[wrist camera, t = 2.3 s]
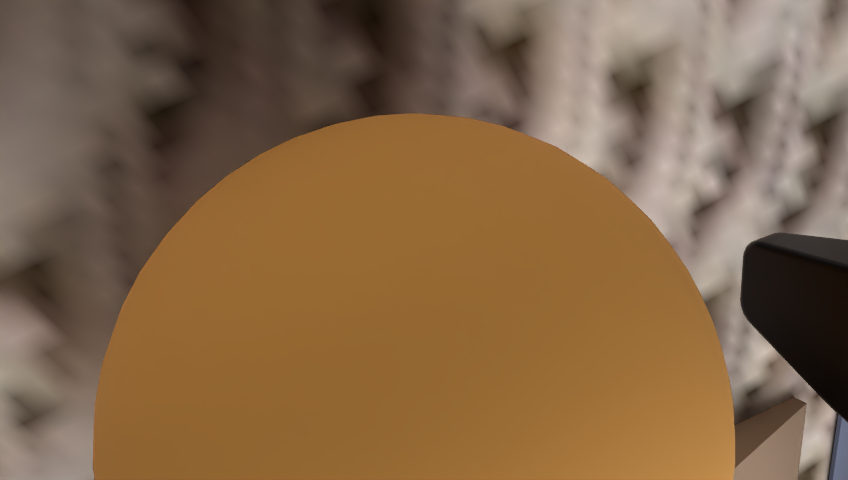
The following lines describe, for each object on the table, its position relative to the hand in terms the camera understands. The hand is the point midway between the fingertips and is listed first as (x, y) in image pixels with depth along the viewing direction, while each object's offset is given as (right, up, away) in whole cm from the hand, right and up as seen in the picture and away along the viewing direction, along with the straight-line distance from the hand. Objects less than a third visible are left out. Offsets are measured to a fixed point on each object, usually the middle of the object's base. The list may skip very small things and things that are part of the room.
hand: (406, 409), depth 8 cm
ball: (-1, +1, +2) cm, 3 cm away
